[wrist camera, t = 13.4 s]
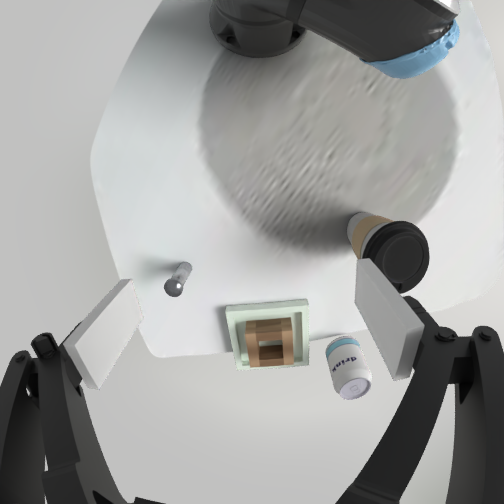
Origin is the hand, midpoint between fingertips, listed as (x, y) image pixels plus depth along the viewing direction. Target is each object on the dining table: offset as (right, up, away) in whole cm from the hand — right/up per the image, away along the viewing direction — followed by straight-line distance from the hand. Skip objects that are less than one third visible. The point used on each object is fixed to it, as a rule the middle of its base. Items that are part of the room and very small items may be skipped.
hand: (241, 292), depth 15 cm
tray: (+4, -13, +35) cm, 38 cm away
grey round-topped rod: (-11, 0, +31) cm, 33 cm away
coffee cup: (+19, +6, +28) cm, 34 cm away
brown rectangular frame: (+4, -13, +35) cm, 38 cm away
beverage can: (+18, -17, +36) cm, 44 cm away
